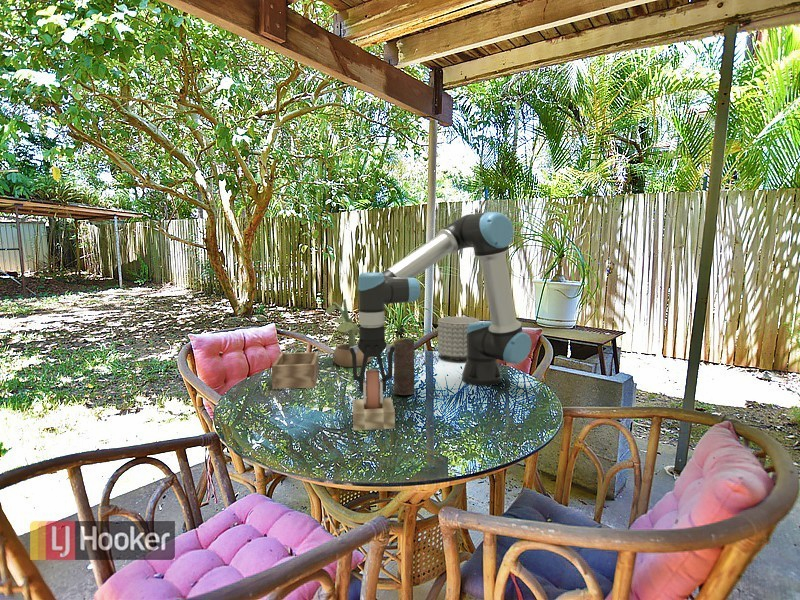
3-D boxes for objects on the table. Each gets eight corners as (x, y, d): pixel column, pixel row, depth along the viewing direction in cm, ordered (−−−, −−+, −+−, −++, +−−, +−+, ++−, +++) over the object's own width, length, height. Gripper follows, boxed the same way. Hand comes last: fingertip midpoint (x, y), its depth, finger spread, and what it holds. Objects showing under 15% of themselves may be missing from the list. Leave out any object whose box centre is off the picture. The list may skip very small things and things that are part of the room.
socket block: (391, 413, 141) (391, 397, 141) (394, 428, 129) (394, 411, 129) (353, 414, 140) (353, 399, 139) (353, 430, 128) (352, 413, 127)
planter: (436, 362, 201) (436, 322, 199) (439, 352, 220) (439, 316, 218) (479, 364, 198) (479, 323, 196) (478, 353, 217) (479, 316, 215)
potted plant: (340, 357, 212) (338, 294, 208) (376, 359, 207) (375, 295, 204) (319, 370, 191) (317, 300, 187) (358, 373, 186) (357, 301, 182)
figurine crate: (318, 373, 186) (318, 352, 184) (314, 388, 166) (314, 364, 165) (281, 374, 184) (280, 353, 183) (272, 389, 165) (271, 366, 164)
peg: (379, 413, 137) (378, 369, 135) (380, 418, 133) (379, 372, 131) (366, 414, 136) (365, 369, 134) (366, 419, 132) (366, 373, 130)
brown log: (412, 398, 154) (412, 342, 152) (391, 397, 156) (391, 341, 153) (416, 391, 162) (415, 337, 159) (396, 390, 163) (395, 336, 161)
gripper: (399, 322, 136) (400, 396, 138) (342, 323, 134) (344, 398, 137) (402, 326, 128) (403, 405, 131) (341, 328, 126) (343, 407, 129)
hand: (373, 401), depth 134 cm, fingers open, 4 cm apart
